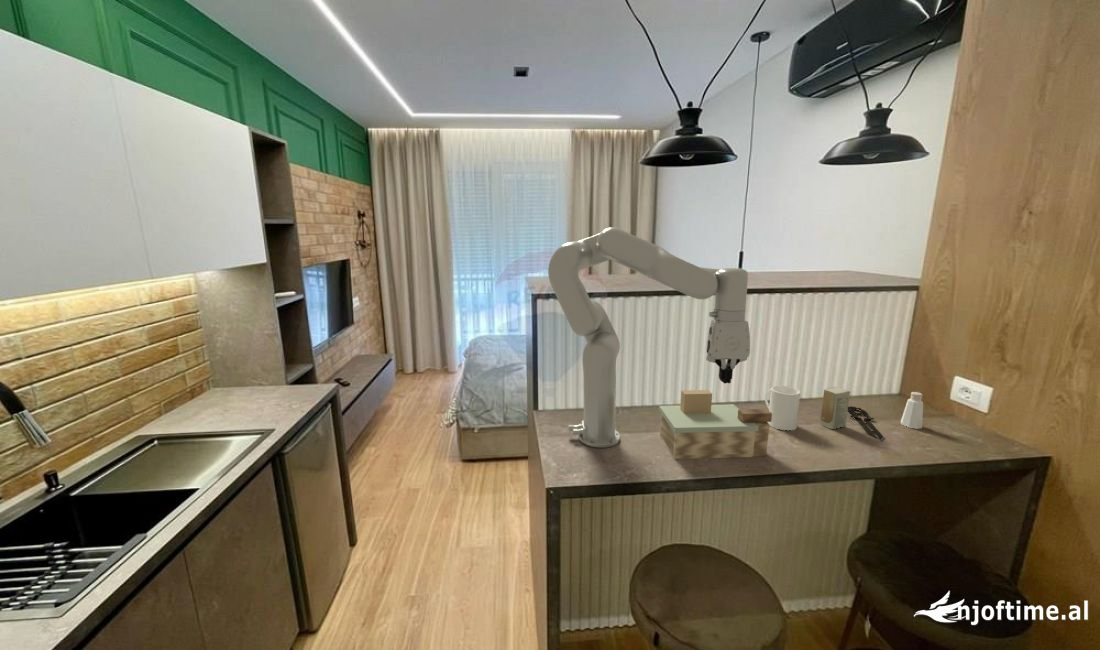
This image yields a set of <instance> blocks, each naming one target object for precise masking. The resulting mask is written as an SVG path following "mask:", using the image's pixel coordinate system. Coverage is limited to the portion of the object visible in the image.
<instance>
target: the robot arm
mask: <svg viewBox="0 0 1100 650" xmlns="http://www.w3.org/2000/svg"><path fill="white" fill-rule="evenodd" d="M608 261H613V262H614V263H617V264H618V265H621V266H624V267H626V268H628V269H631V270H633V271H635V272H637V273H639V274H641V275H644V276H645V277H648V278H649V279H652V280H654V281H656V282H659V283H660V284H663V285H665V286H667V287H669V288H670V289H673V290H676V291H677V292H680V293H681V294H684V295H687V296H689V297H690V298H694V299H696V300H707V299H709V298H712V297H713V296H714V295H715V296H714V297H715V298H714V308H713V311H710V312H709V313H708V316H709V318H713V319H711V321H710V325H709V329H708V333H707V340H706V358H705V359H706V361H707V362H709V363H714V364H716V365H717V366H718V367H719V370H718V379H719V380H720V381H721V383H723V384H731V382H732V379H733V371H734V369H736V366H737V365H738V364H739V363H741V362H745V361H747V360H748V358H749V356H750V353H751V334H750V327H749V325H750V324H749V321H748V320H746V306H747V293H748V282H749V281H748V279H749V274H748V271H747V270H746V269H743V268H735V267H734V268H732V267H731V268H729V267H728V268H720V269H717V268H709V267H700V266H698V265H695V264H694V263H691V262H689V261H686V260H684V259H682V258H680V257H677V256H676V255H674V254H671V253H670V252H669V251H668V250H666V249H665V248H663V247H661V246H659V245H657V244H654V243H653V242H650V241H648V240H645V239H643V238H641V237H639V236H636V235H634V234H631V233H629V232H627V231H625V230H623V229H621V228H620V227H615V226H614V227H613V226H611V227H607V228H604V229H603V230H602V231H600V233H597V234H595V235H591V236H590V237H586V238H583V239H580V240H578V241H569V242H566V243H563V244H561V245H560V246H559V247H558V248H557V249H556V250H555V251H554V252H553V254H552V256H551V258H550V259H549V264H548V270H547V272H548V273H547V274H548V280H549V283H550V286H551V288H552V290H553V292H554V294H555V297H556V298H557V301H558V303H559V306H560V308H561V309H562V311H563V314H564V316H565V317H566V320H567V322H568V324H569V327H570V328H571V330H572V331H573V333H574V334H576V335H578V336H579V337H584V338H585V340H586V342H587V343H586V344H585V346H584V348H583V351H582V358H581V359H582V372H583V420H581V423H578V424H567V425H568V428H567V429H568V432H572V434H573V435H578V440H579V441H580V442H581V443H582V444H584V445H586V446H589V447H592V448H610V447H613V446H616V445H617V444H618V443H619V442H620V440H621V434H620V433H619V431H618V430H616V404H617V403H616V401H617V400H616V396H617V389H616V388H617V369H616V368H617V357H618V354H619V352H620V348H621V345H620V344H621V342H620V339H619V337H618V334H617V333H616V330H615V329H614V326H613V325H612V322H611V320H610V318H609V315H608V314H607V312H606V310H605V309H604V307H603V306H602V305H601V304H600V303H599V302H598V301H597V300H593V299H591V298H590V296H589V294H588V293H587V290H586V287H585V285H584V284H583V282H582V280H581V278H580V276H579V272H580V271H582V270H585V269H587V268H590V267H593V266H596V265H599V264H602V263H604V262H605V263H606V262H608Z"/></svg>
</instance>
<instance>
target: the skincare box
mask: <svg viewBox="0 0 1100 650" xmlns="http://www.w3.org/2000/svg"><path fill="white" fill-rule="evenodd" d="M850 394H851V391H850V390H848V389H845V388H843V387H838V386H834V387H830V388H824V389H823V396H822V404H821V412H820V420H819V425H820V424H821V426H823V427H825V428H827V427H828V428H827V429H829V428H830V430H831V429H833V430H836V428H837V429H841V428H840V427H842V428H845V427H847V417H848V407H849V403H850Z"/></svg>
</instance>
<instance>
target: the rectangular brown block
mask: <svg viewBox="0 0 1100 650" xmlns="http://www.w3.org/2000/svg"><path fill="white" fill-rule="evenodd" d="M739 409H740V408H739ZM738 419H739V420H741V421H742V422H771V419H772V413H771V412H770V411H769V409H768V408H753V409H752V408H749V409H747V408H745V409H744V408H743V409H740V410H738Z"/></svg>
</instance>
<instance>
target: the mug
mask: <svg viewBox="0 0 1100 650" xmlns="http://www.w3.org/2000/svg"><path fill="white" fill-rule="evenodd" d="M769 394H770V397H769V402H768V395H769ZM800 398H801V391H800V389H798V388H795V387H793V386H787V385H786V386H785V385H774V386H771V388H770V389H768V390H767V391H766V393H765V395H764V403H765V407H766V408H767V410H768V411H770V412H771V413H772V419H771V422H768V423H769V424H770V426H769V427H771V428H773V427H774V428H773V429H777V430H779V429H780V431H785V430H788V432H789V430H791V431H795V430H797V427H798V425H797V423H798V413H799V405H800Z"/></svg>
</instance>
